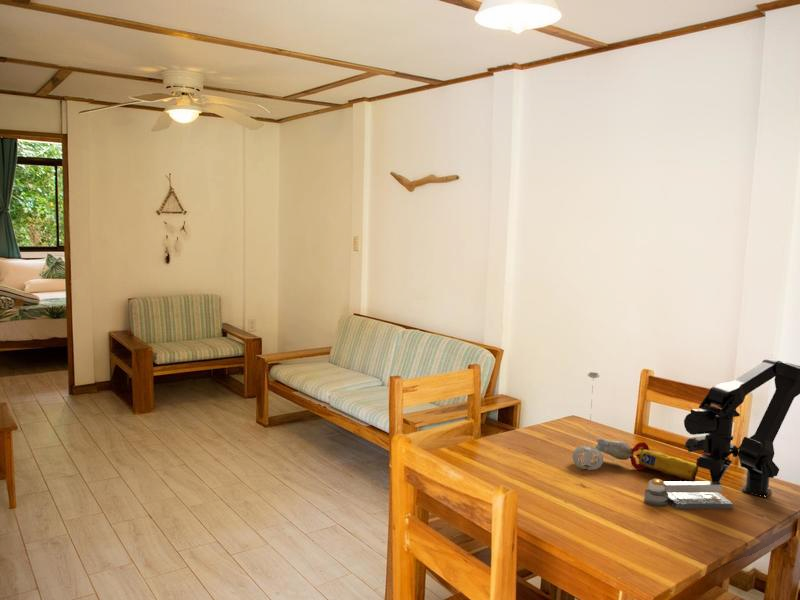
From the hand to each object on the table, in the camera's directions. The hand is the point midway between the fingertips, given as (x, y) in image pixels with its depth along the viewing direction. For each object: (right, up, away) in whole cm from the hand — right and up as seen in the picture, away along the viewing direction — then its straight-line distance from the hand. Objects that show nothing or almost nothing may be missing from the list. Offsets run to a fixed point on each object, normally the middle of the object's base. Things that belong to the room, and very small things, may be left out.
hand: (715, 485), depth 184 cm
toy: (-12, -1, +20) cm, 24 cm away
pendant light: (-30, 0, +20) cm, 37 cm away
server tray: (-7, -4, -3) cm, 8 cm away
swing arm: (-10, -1, -4) cm, 11 cm away
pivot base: (-18, -4, -4) cm, 19 cm away
